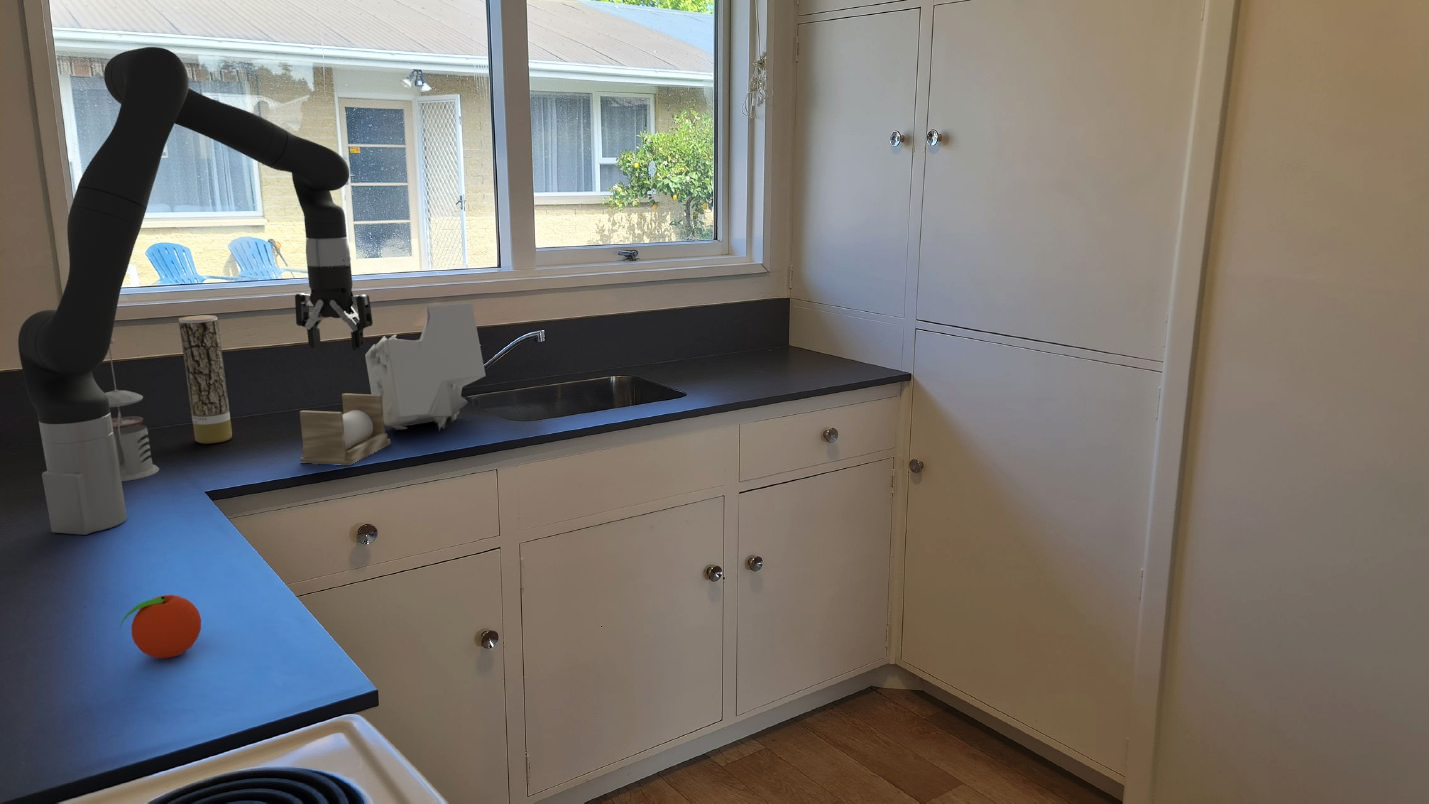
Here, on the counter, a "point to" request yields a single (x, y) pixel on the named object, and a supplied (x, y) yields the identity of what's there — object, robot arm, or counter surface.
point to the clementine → (165, 626)
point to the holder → (341, 432)
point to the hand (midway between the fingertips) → (336, 349)
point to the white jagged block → (427, 368)
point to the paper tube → (205, 378)
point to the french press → (130, 436)
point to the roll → (356, 427)
